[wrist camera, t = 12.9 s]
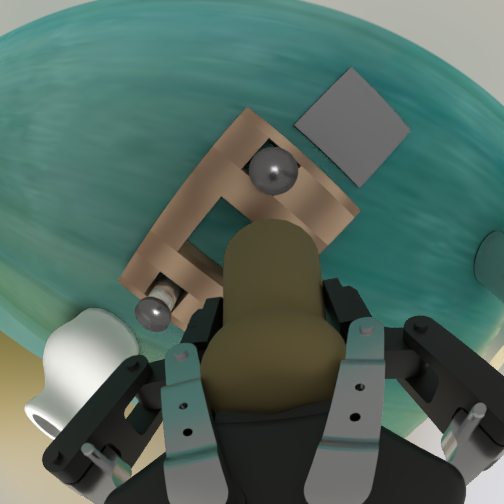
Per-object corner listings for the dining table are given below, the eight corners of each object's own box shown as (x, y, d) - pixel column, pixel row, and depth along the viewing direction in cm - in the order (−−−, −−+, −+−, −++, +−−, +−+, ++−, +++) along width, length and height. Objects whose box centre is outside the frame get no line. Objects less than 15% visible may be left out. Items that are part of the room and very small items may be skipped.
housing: (349, 202, 30) (361, 210, 26) (219, 333, 37) (215, 352, 33) (249, 112, 26) (247, 106, 23) (130, 267, 34) (117, 281, 30)
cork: (317, 304, 18) (353, 451, 8) (227, 307, 18) (196, 455, 8) (321, 217, 16) (404, 338, 6) (219, 220, 16) (150, 346, 6)
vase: (160, 367, 40) (121, 470, 21) (99, 370, 42) (55, 450, 23) (118, 293, 35) (41, 394, 17) (59, 307, 37) (-9, 383, 18)
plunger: (295, 164, 28) (308, 169, 20) (271, 190, 29) (275, 205, 21) (268, 140, 27) (271, 136, 19) (244, 167, 28) (238, 173, 20)
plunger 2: (193, 279, 33) (176, 316, 26) (177, 299, 34) (158, 337, 27) (169, 260, 32) (145, 293, 25) (154, 281, 33) (129, 316, 26)
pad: (408, 130, 26) (410, 130, 25) (357, 187, 29) (359, 188, 28) (349, 68, 24) (351, 67, 23) (293, 125, 27) (294, 125, 26)
